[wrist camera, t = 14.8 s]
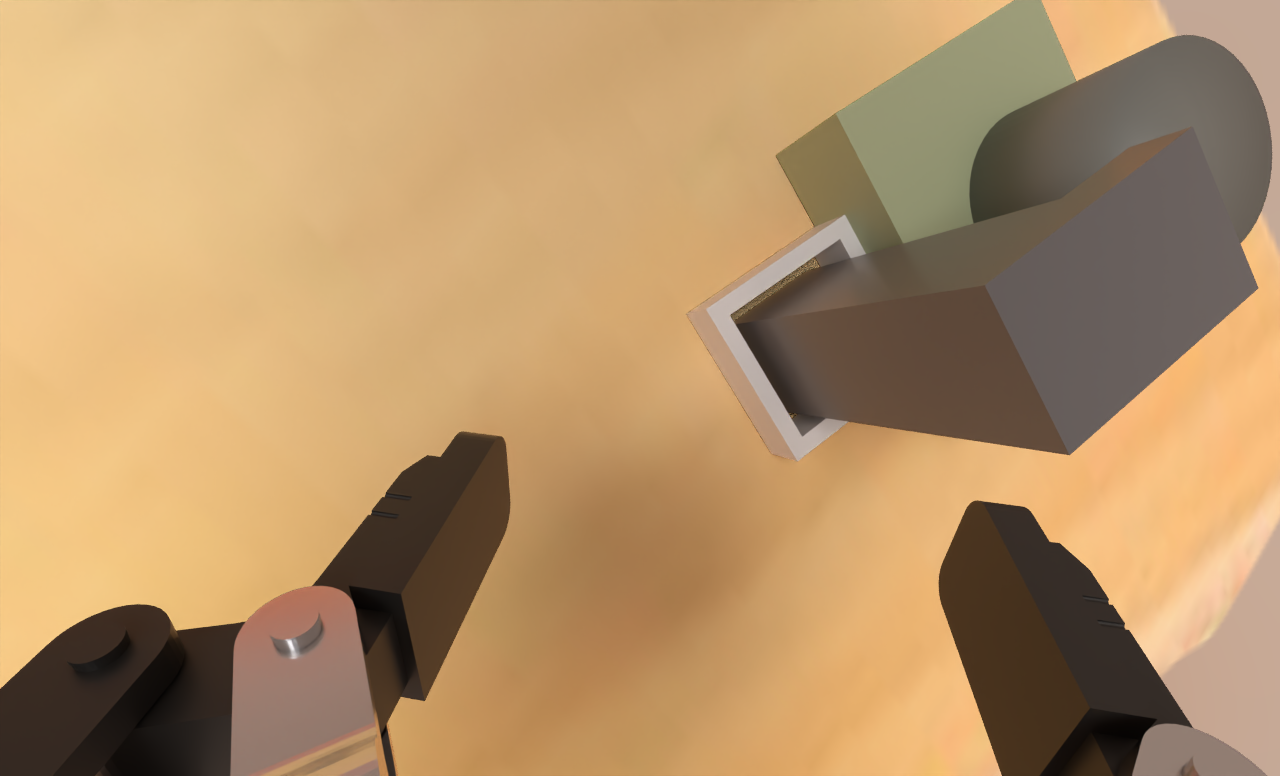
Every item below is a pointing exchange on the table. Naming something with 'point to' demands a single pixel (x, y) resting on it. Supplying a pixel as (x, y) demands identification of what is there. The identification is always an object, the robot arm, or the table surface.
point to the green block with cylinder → (985, 161)
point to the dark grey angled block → (1016, 310)
